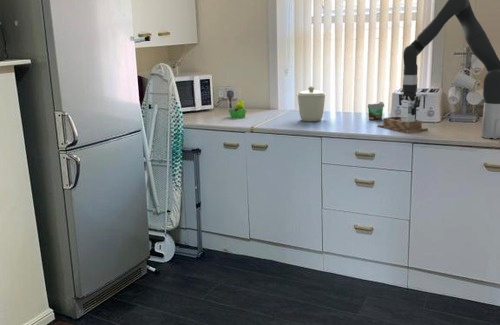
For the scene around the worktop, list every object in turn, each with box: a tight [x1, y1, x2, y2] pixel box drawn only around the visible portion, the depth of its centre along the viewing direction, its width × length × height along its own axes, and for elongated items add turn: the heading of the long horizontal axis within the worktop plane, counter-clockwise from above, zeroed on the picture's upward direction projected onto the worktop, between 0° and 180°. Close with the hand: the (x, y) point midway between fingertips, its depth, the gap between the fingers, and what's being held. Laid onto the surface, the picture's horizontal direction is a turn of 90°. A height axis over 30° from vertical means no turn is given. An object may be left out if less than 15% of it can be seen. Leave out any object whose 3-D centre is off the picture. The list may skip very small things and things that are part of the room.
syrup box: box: [400, 100, 417, 122], centre depth 275 cm, size 6×6×14 cm
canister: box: [296, 86, 327, 122], centre depth 312 cm, size 18×18×21 cm
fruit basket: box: [228, 99, 247, 120], centre depth 335 cm, size 11×9×11 cm
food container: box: [367, 101, 385, 121], centre depth 308 cm, size 12×6×10 cm, turn 129°
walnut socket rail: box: [377, 115, 429, 134], centre depth 281 cm, size 24×14×5 cm, turn 27°
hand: (408, 114), depth 275 cm, fingers closed on syrup box, 6 cm apart
